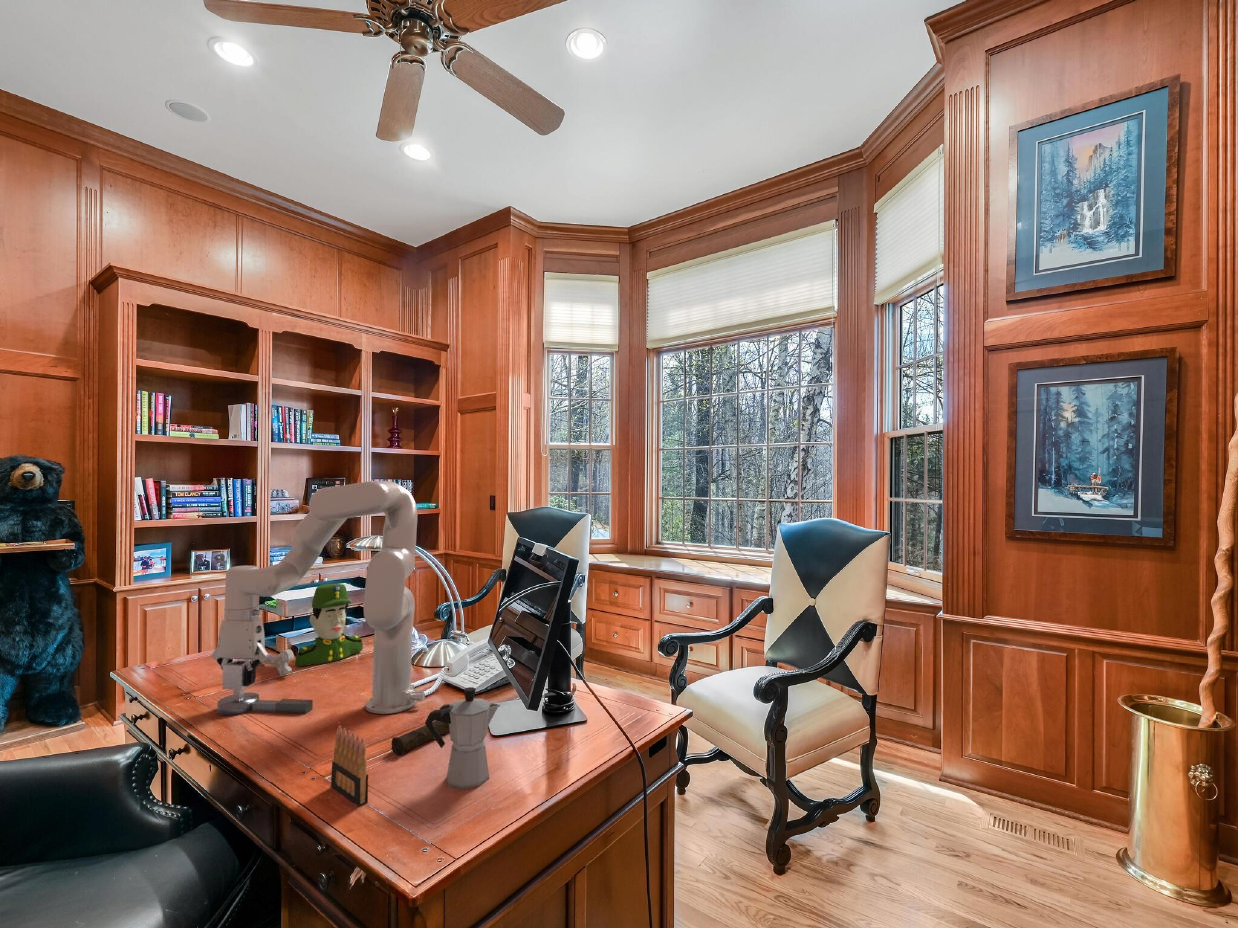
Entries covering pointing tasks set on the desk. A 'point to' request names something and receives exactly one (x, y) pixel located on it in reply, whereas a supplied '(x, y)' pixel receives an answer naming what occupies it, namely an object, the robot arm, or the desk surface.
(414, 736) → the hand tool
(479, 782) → the coffee maker
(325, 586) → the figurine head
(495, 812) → the desk surface
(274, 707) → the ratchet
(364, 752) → the ammunition clip
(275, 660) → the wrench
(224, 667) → the socket
